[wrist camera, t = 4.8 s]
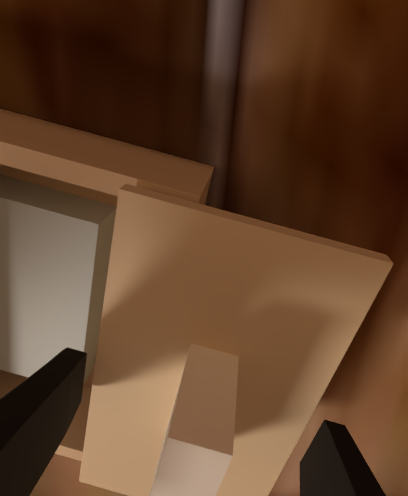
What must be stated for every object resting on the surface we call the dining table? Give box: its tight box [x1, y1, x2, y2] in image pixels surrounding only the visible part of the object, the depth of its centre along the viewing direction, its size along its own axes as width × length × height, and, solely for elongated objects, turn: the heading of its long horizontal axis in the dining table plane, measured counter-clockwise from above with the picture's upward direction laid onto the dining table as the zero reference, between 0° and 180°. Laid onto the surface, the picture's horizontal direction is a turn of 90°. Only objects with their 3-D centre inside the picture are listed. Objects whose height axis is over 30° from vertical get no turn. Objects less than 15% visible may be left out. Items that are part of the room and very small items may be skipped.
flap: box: [79, 184, 393, 496], centre depth 10 cm, size 7×12×4 cm, turn 167°
